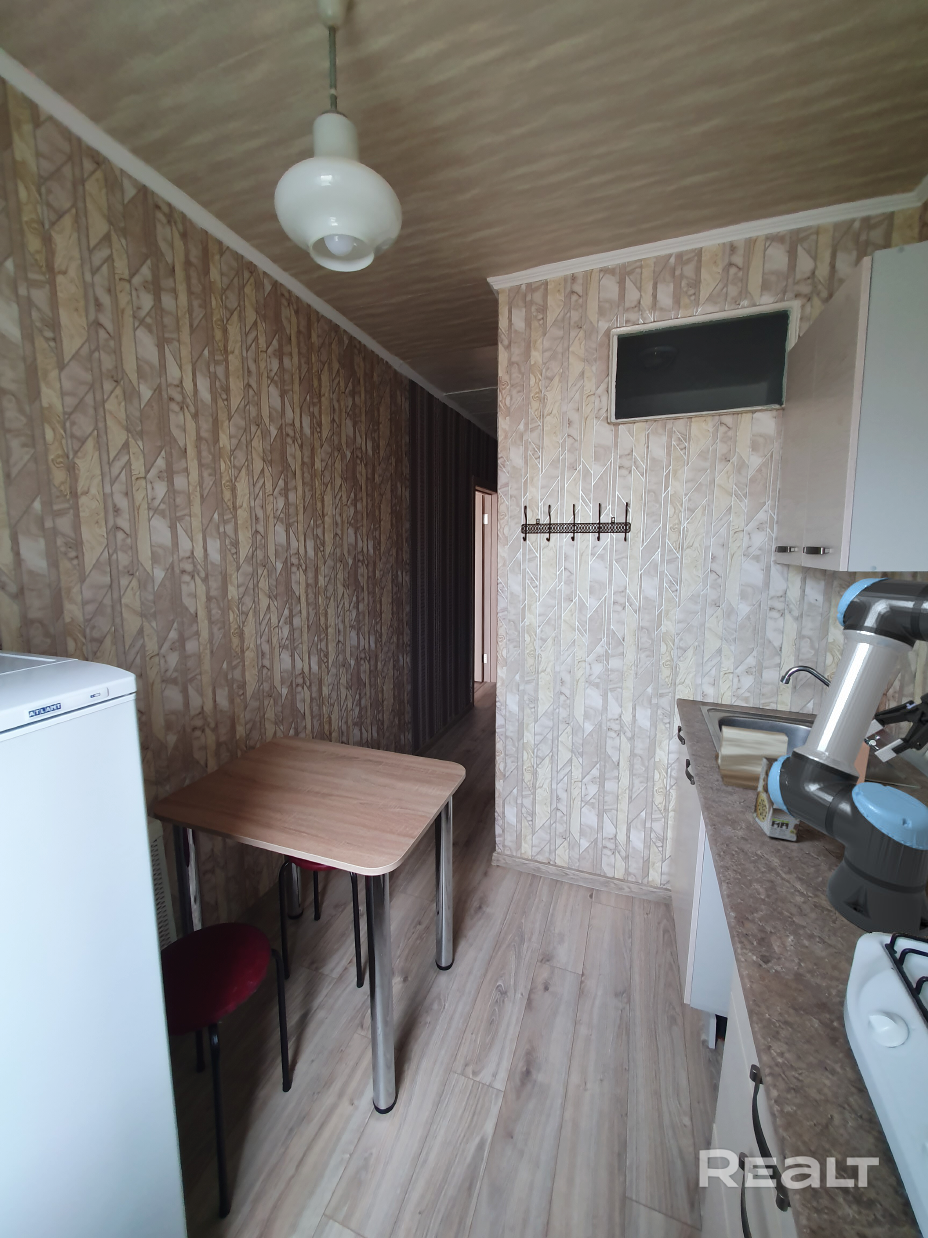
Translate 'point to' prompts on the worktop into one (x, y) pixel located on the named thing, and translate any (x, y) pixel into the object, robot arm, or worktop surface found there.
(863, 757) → the pink beveled block
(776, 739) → the beige and brown block
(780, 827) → the coffee box
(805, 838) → the worktop surface
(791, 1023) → the worktop surface
